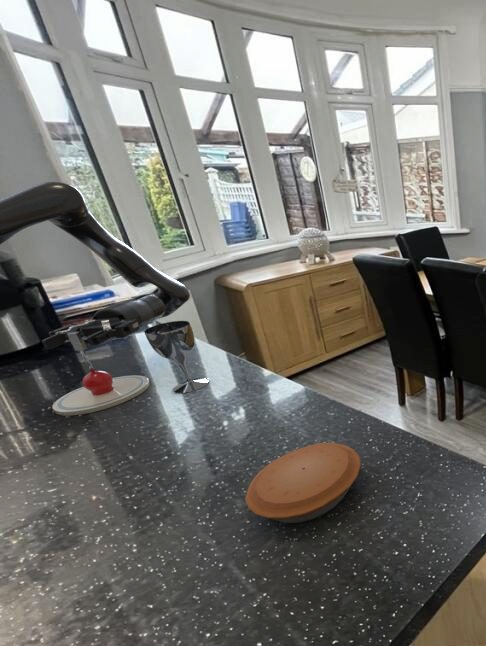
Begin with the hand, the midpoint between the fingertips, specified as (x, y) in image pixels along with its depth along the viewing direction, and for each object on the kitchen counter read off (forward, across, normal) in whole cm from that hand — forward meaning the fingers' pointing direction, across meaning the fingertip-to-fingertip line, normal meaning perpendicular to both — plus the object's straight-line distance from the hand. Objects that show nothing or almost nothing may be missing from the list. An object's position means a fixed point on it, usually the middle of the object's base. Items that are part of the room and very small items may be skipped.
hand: (68, 343), depth 83 cm
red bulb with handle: (-2, 0, +13) cm, 13 cm away
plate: (-2, 0, +14) cm, 14 cm away
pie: (+39, +58, +14) cm, 71 cm away
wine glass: (-3, +18, +14) cm, 23 cm away
